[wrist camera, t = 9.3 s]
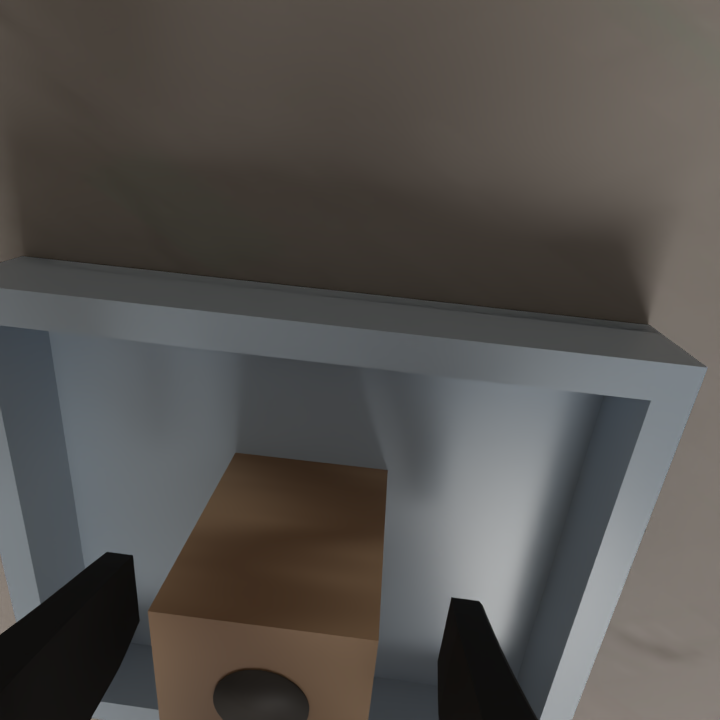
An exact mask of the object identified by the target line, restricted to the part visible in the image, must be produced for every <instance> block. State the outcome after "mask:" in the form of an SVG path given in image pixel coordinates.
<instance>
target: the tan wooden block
mask: <svg viewBox="0 0 720 720" xmlns="http://www.w3.org/2000/svg"><path fill="white" fill-rule="evenodd" d="M387 474H388V470H383V469H375V468H366V467H357V466H348V465H340V464H331V463H322V462H313V461H305V460H296V459H287V458H278V457H270V456H261V455H252V454H243V453H235V454H234V456H233V458H232V460H231V461H230V463H229V465H228V467H227V469H226V471H225V472H224V474H223V476H222V478H221V480H220V481H219V483H218V485H217V487H216V489H215V490H214V492H213V494H212V496H211V498H210V499H209V501H208V503H207V505H206V507H205V509H204V510H203V512H202V514H201V516H200V518H199V519H198V521H197V523H196V525H195V527H194V528H193V530H192V532H191V534H190V536H189V537H188V539H187V541H186V543H185V545H184V547H183V548H182V550H181V552H180V554H179V556H178V557H177V559H176V561H175V563H174V565H173V566H172V568H171V570H170V572H169V574H168V575H167V577H166V579H165V581H164V583H163V584H162V586H161V588H160V590H159V592H158V594H157V595H156V597H155V599H154V601H153V603H152V604H151V606H150V608H149V610H148V619H149V628H150V637H151V646H152V655H153V664H154V673H155V683H156V692H157V701H158V710H159V719H160V720H368V717H369V710H370V702H371V695H372V687H373V680H374V672H375V664H376V657H377V649H378V642H379V624H380V605H381V587H382V568H383V549H384V530H385V511H386V493H387Z"/></svg>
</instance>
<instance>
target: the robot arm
mask: <svg viewBox="0 0 720 720" xmlns="http://www.w3.org/2000/svg"><path fill="white" fill-rule="evenodd" d="M139 622H140V617H139V607H138V598H137V588H136V579H135V569H134V560H133V555H128V554H121V553H113V552H106V553H105V554H103V555H102V556H101V557H99V558H98V559H97V560H95V561H94V562H93V563H92V564H90V565H89V566H88V567H87V568H85V569H84V570H83V571H82V572H80V573H79V574H78V575H77V576H75V577H74V578H73V579H72V580H70V581H69V582H68V583H67V584H65V585H64V586H63V587H61V588H60V589H59V590H58V591H56V592H55V593H54V594H53V595H51V596H50V597H49V598H48V599H46V600H45V601H44V602H42V603H41V604H40V605H39V606H37V607H36V608H35V609H33V610H32V611H31V612H29V613H28V614H27V615H26V616H24V617H23V618H22V619H20V620H19V621H18V622H16V623H15V624H14V625H13V626H11V627H10V628H9V629H7V630H6V631H5V632H3V633H2V634H0V720H90V719H91V718H92V716H93V714H94V712H95V711H96V709H97V707H98V705H99V704H100V702H101V700H102V698H103V696H104V695H105V693H106V691H107V689H108V688H109V686H110V684H111V682H112V681H113V679H114V677H115V675H116V673H117V671H118V670H119V668H120V665H121V663H122V661H123V659H124V657H125V654H126V652H127V650H128V648H129V645H130V643H131V641H132V638H133V636H134V634H135V631H136V629H137V626H138V624H139ZM437 667H438V716H439V720H538V719H537V717H536V715H535V713H534V711H533V710H532V708H531V706H530V704H529V702H528V700H527V698H526V696H525V694H524V693H523V691H522V689H521V687H520V685H519V683H518V681H517V679H516V677H515V675H514V673H513V671H512V669H511V667H510V665H509V663H508V661H507V659H506V657H505V655H504V653H503V651H502V649H501V646H500V644H499V642H498V640H497V638H496V635H495V633H494V631H493V629H492V626H491V624H490V622H489V619H488V617H487V615H486V612H485V610H484V607H483V605H482V604H481V603H480V601H476V600H469V599H461V598H453V597H451V601H450V605H449V610H448V615H447V619H446V624H445V629H444V633H443V638H442V643H441V647H440V652H439V657H438V661H437Z"/></svg>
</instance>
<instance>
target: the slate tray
mask: <svg viewBox="0 0 720 720" xmlns="http://www.w3.org/2000/svg"><path fill="white" fill-rule="evenodd" d="M706 371H707V367H706V366H705V365H703V364H702V363H701V362H699V361H698V360H697V359H695V358H694V357H692V356H691V355H690V354H688V353H687V352H686V351H684V350H683V349H682V348H680V347H679V346H677V345H676V344H675V343H673V342H672V341H671V340H669V339H668V338H666V337H665V336H664V335H662V334H661V333H660V332H658V331H657V330H656V329H654V328H653V327H651V326H650V325H645V324H636V323H627V322H618V321H609V320H600V319H590V318H581V317H572V316H563V315H554V314H545V313H536V312H527V311H518V310H509V309H499V308H490V307H481V306H472V305H463V304H454V303H445V302H436V301H427V300H417V299H408V298H399V297H390V296H381V295H372V294H363V293H354V292H345V291H335V290H326V289H317V288H308V287H299V286H290V285H281V284H272V283H263V282H254V281H244V280H235V279H226V278H217V277H208V276H199V275H190V274H181V273H172V272H162V271H153V270H144V269H135V268H126V267H117V266H108V265H99V264H90V263H80V262H71V261H62V260H53V259H44V258H35V257H26V256H21V257H18V258H14V259H11V260H7V261H4V262H0V555H1V559H2V563H3V567H4V572H5V576H6V580H7V584H8V589H9V593H10V597H11V602H12V606H13V610H14V614H15V619H16V622H18V621H19V620H20V619H22V618H23V617H24V616H26V615H27V614H28V613H29V612H31V611H32V610H33V609H35V608H36V607H37V606H39V605H40V604H41V603H42V602H44V601H45V600H46V599H48V598H49V597H50V596H51V595H53V594H54V593H55V592H56V591H58V590H59V589H60V588H61V587H63V586H64V585H65V584H67V583H68V582H69V581H70V580H72V579H73V578H74V577H75V576H77V575H78V574H79V573H80V572H82V571H83V570H84V569H85V568H87V567H88V566H89V565H90V564H92V563H93V562H94V561H95V560H97V559H98V558H99V557H101V556H102V555H103V554H105V553H106V552H113V553H121V554H128V555H133V560H134V569H135V579H136V588H137V598H138V607H139V617H140V622H139V624H138V626H137V629H136V631H135V634H134V636H133V638H132V641H131V643H130V645H129V648H128V650H127V652H126V654H125V657H124V659H123V661H122V663H121V665H120V668H119V670H118V671H117V673H116V675H115V677H114V679H113V681H112V682H111V684H110V686H109V688H108V689H107V691H106V693H105V695H104V696H103V698H102V700H101V702H100V704H99V705H98V707H97V709H96V711H95V712H94V714H93V716H92V718H96V719H103V720H160V719H159V710H158V701H157V692H156V683H155V673H154V664H153V655H152V646H151V637H150V628H149V619H148V610H149V608H150V606H151V604H152V603H153V601H154V599H155V597H156V595H157V594H158V592H159V590H160V588H161V586H162V584H163V583H164V581H165V579H166V577H167V575H168V574H169V572H170V570H171V568H172V566H173V565H174V563H175V561H176V559H177V557H178V556H179V554H180V552H181V550H182V548H183V547H184V545H185V543H186V541H187V539H188V537H189V536H190V534H191V532H192V530H193V528H194V527H195V525H196V523H197V521H198V519H199V518H200V516H201V514H202V512H203V510H204V509H205V507H206V505H207V503H208V501H209V499H210V498H211V496H212V494H213V492H214V490H215V489H216V487H217V485H218V483H219V481H220V480H221V478H222V476H223V474H224V472H225V471H226V469H227V467H228V465H229V463H230V461H231V460H232V458H233V456H234V454H235V453H243V454H252V455H261V456H270V457H278V458H287V459H296V460H305V461H313V462H322V463H331V464H340V465H348V466H357V467H366V468H375V469H383V470H388V474H387V493H386V511H385V530H384V549H383V568H382V587H381V605H380V624H379V642H378V649H377V657H376V664H375V672H374V680H373V687H372V695H371V702H370V710H369V717H368V720H439V716H438V667H437V661H438V657H439V652H440V647H441V643H442V638H443V633H444V629H445V624H446V619H447V615H448V610H449V605H450V601H451V597H453V598H461V599H469V600H476V601H480V603H481V604H482V605H483V607H484V610H485V612H486V615H487V617H488V619H489V622H490V624H491V626H492V629H493V631H494V633H495V635H496V638H497V640H498V642H499V644H500V646H501V649H502V651H503V653H504V655H505V657H506V659H507V661H508V663H509V665H510V667H511V669H512V671H513V673H514V675H515V677H516V679H517V681H518V683H519V685H520V687H521V689H522V691H523V693H524V694H525V696H526V698H527V700H528V702H529V704H530V706H531V708H532V710H533V711H534V713H535V715H536V717H537V719H538V720H572V718H573V716H574V713H575V710H576V708H577V705H578V703H579V700H580V697H581V695H582V692H583V690H584V687H585V685H586V682H587V679H588V677H589V674H590V672H591V669H592V666H593V664H594V661H595V659H596V656H597V653H598V651H599V648H600V646H601V643H602V640H603V638H604V635H605V633H606V630H607V627H608V625H609V622H610V620H611V617H612V615H613V612H614V609H615V607H616V604H617V602H618V599H619V596H620V594H621V591H622V589H623V586H624V583H625V581H626V578H627V576H628V573H629V570H630V568H631V565H632V563H633V560H634V558H635V555H636V552H637V550H638V547H639V545H640V542H641V539H642V537H643V534H644V532H645V529H646V526H647V524H648V521H649V519H650V516H651V513H652V511H653V508H654V506H655V503H656V500H657V498H658V495H659V493H660V490H661V488H662V485H663V482H664V480H665V477H666V475H667V472H668V469H669V467H670V464H671V462H672V459H673V456H674V454H675V451H676V449H677V446H678V443H679V441H680V438H681V436H682V433H683V430H684V428H685V425H686V423H687V420H688V418H689V415H690V412H691V410H692V407H693V405H694V402H695V399H696V397H697V394H698V392H699V389H700V386H701V384H702V381H703V379H704V376H705V373H706Z"/></svg>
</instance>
